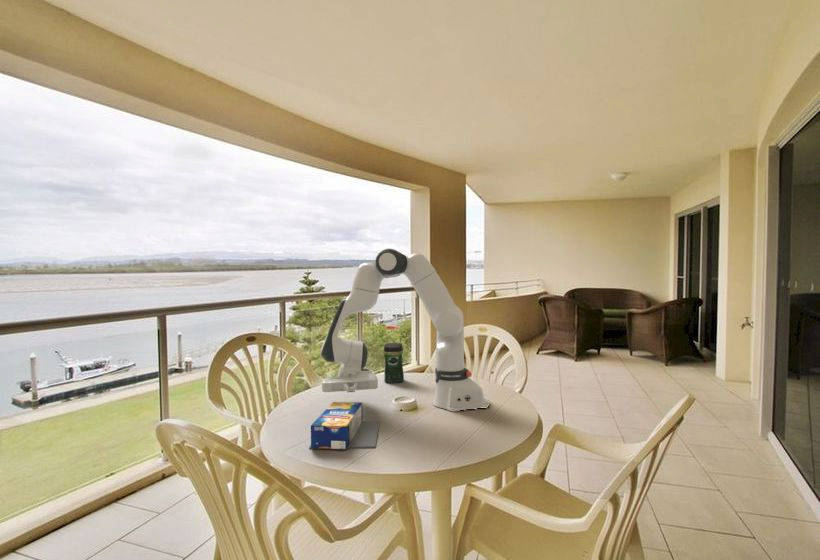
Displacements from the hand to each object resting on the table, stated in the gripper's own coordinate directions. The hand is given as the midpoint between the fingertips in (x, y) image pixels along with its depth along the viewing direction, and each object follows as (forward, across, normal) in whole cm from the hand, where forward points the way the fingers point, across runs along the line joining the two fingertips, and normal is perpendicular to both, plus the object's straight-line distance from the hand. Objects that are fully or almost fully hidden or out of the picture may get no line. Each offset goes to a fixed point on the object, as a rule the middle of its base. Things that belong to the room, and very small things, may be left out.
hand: (350, 390), depth 134 cm
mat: (+9, -2, +12) cm, 15 cm away
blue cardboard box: (-3, -1, +9) cm, 9 cm away
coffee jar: (-48, +22, +12) cm, 54 cm away
